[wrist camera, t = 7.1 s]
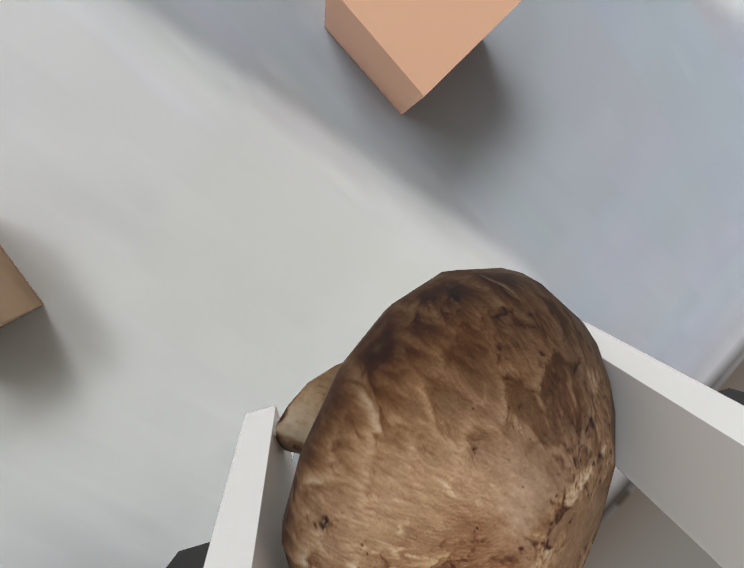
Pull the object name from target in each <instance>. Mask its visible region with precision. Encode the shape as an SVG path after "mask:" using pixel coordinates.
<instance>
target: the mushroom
mask: <svg viewBox="0 0 744 568" xmlns="http://www.w3.org/2000/svg"><path fill="white" fill-rule="evenodd" d="M275 429H276V439H277V441H278V443H279V444H280V445H281V447H282V448H283V449H284V450H286V451H290V452H294V453H298V454H300V455H299V459H298V463H297V467H296V471H295V475H294V478H293V482H292V486H291V490H290V494H289V497H288V501H287V505H286V509H285V513H284V517H283V520H282V545H283V549H284V552H285V555H286V559H287V562H288V565H289V568H583V566H584V563H585V561H586V558H587V556H588V554H589V551H590V549H591V546H592V544H593V541H594V539H595V536H596V534H597V532H598V529H599V526H600V522H601V518H602V514H603V510H604V506H605V503H606V499H607V495H608V491H609V487H610V483H611V480H612V476H613V472H614V468H615V407H614V402H613V396H612V390H611V384H610V380H609V377H608V374H607V371H606V368H605V365H604V362H603V359H602V356H601V353H600V351H599V348H598V345H597V343H596V341H595V340H594V338H593V337H592V335H591V334H590V332H589V330H588V329H587V327H586V326H585V324H584V323H583V322H582V321H581V320H580V319H579V318H578V317H577V316H576V315H574V314H573V313H572V312H571V311H570V310H569V309H568V308H567V307H566V306H565V305H564V304H562V303H561V302H560V301H559V300H558V299H557V298H556V297H555V296H554V295H553V294H552V293H550V292H549V291H548V290H547V289H546V288H545V287H544V286H543V285H542V284H540V283H539V282H537V281H535V280H533V279H532V278H530V277H528V276H526V275H525V274H523V273H520V272H516V271H512V270H508V269H503V268H491V269H471V270H455V271H446V272H441V273H440V274H438V275H437V276H435V277H434V278H432V279H430V280H429V281H427V282H426V283H424V284H423V285H421V286H420V287H418V288H416V289H415V290H413V291H412V292H410V293H409V294H407V295H406V296H404V297H402V298H401V299H399V300H398V301H396V302H395V303H393V304H392V305H391V306H390V307H389V308H387V309H386V310H385V311H384V312H383V314H382V315H381V316H380V317H379V319H378V320H377V321H376V322H375V323H374V325H373V326H372V327H371V328H370V330H369V331H368V332H367V333H366V335H365V336H364V337H363V338H362V340H361V341H360V342H359V343H358V345H357V346H356V347H355V348H354V350H353V351H352V352H351V353H350V355H349V356H348V357H347V358H346V360H345V361H344V362H343V363H341V364H338V365H336V366H334V367H332V368H331V369H329V370H328V371H326V372H325V373H323V374H321V375H320V376H318V377H317V378H315V379H314V380H312V381H310V382H309V383H307V385H306V386H305V387H304V388H303V389H302V390H301V391H300V393H299V394H298V395H297V396H296V397H295V398H294V399H293V401H292V402H291V403H290V404H289V405H288V407H287V408H286V410H285V412H284V413H283V415H282V417H281V418H280V420H279V421H278V423H277V425H276V426H275Z"/></svg>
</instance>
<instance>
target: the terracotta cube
mask: <svg viewBox="0 0 744 568" xmlns="http://www.w3.org/2000/svg"><path fill="white" fill-rule="evenodd" d="M521 1H522V0H326V8H325V28H326V29H327V30H328V31H329V33H330V34H331V35H332V36H333V37H334V38H335V39H336V41H337V42H338V43H339V44H340V45H341V46H342V47H343V49H344V50H345V51H346V52H347V53H348V54H349V55H350V57H351V58H352V59H353V60H354V61H355V62H356V63H357V65H358V66H359V67H360V68H361V69H362V70H363V71H364V73H365V74H366V75H367V76H368V77H369V78H370V79H371V80H372V82H373V83H374V84H375V85H376V86H377V87H378V88H379V90H380V91H381V92H382V93H383V94H384V95H385V96H386V98H387V99H388V100H389V101H390V102H391V103H392V104H393V106H394V107H395V108H396V109H397V110H398V111H399V112H400V114H401V115H402V114H403V113H404V112H406V111H407V110H408V109H409V108H411V107H412V106H413V105H414V104H416V103H417V102H418V101H419V100H421V99H422V98H423V97H424V96H425V95H426V94H428V93H429V92H430V91H431V90H432V89H433V88H434V87H435V86H436V85H437V84H438V83H439V82H440V81H441V80H442V79H443V78H444V77H445V76H446V75H447V74H448V73H449V72H450V71H451V70H452V69H453V68H454V67H455V66H456V65H457V64H458V63H459V62H460V61H461V60H462V59H463V58H464V57H465V56H466V55H467V54H468V53H469V52H470V51H471V50H472V49H473V48H474V47H475V46H476V45H477V44H478V43H479V42H480V41H481V40H482V39H483V38H484V37H485V36H486V35H487V34H488V33H489V32H490V31H491V30H492V29H493V28H494V27H495V26H496V25H497V24H498V23H499V22H500V21H501V20H502V19H503V18H504V17H505V16H506V15H508V14H509V13H510V12H511V11H512V10H513V9H514V8H515V7H516V6H517V5H518V4H519V3H520V2H521Z"/></svg>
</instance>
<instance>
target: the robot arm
mask: <svg viewBox="0 0 744 568" xmlns="http://www.w3.org/2000/svg"><path fill="white" fill-rule="evenodd" d="M582 322H583V323H584V324H585V326H586V327H587V329H588V330H589V332H590V334H591V335H592V337H593V338H594V340H595V341H596V343H597V345H598V348H599V351H600V353H601V356H602V359H603V362H604V365H605V368H606V371H607V374H608V377H609V380H610V384H611V390H612V396H613V402H614V407H615V466H616V467H617V468H618V469H619V470H620V471H621V472H622V473H623V474H624V475H625V476H626V477H627V478H628V479H629V480H630V481H632V482H633V483H634V484H635V485H636V486H637V487H638V488H639V489H640V490H641V491H642V492H643V493H644V494H645V495H646V496H647V497H648V498H649V499H651V500H652V501H653V502H654V503H655V504H656V505H657V506H658V507H659V508H660V509H661V510H662V511H663V512H664V513H665V514H666V515H667V516H668V517H670V518H671V519H672V520H673V521H674V522H675V523H676V524H677V525H678V526H679V527H680V528H681V529H682V530H683V531H684V532H685V533H686V534H687V535H688V536H689V537H691V538H692V539H693V540H694V541H695V542H696V543H697V544H698V545H699V546H700V547H701V548H702V549H703V550H704V551H705V552H706V553H707V554H708V555H709V556H710V557H712V558H713V559H714V560H715V561H716V562H717V563H718V564H719V565H720V566H721V567H722V568H744V392H741V391H737V390H734V389H729V388H728V389H725V390H721V391H718V392H717V391H715V390H713V389H711V388H709V387H707V386H705V385H704V384H702V383H700V382H698V381H696V380H694V379H692V378H690V377H688V376H687V375H685V374H683V373H681V372H679V371H677V370H675V369H673V368H671V367H670V366H668V365H666V364H664V363H662V362H660V361H658V360H656V359H654V358H653V357H651V356H649V355H647V354H645V353H643V352H641V351H639V350H637V349H636V348H634V347H632V346H630V345H628V344H626V343H624V342H622V341H620V340H618V339H617V338H615V337H613V336H611V335H609V334H607V333H605V332H603V331H601V330H600V329H598V328H596V327H594V326H592V325H590V324H588V323H586V322H584V321H583V320H582ZM279 420H280V417H279V414H278V411H277V408H276V405H275V406H272V407H268V408H265V409H261V410H257V411H254V412H250V413H247V414H245V417H244V420H243V424H242V428H241V431H240V435H239V439H238V442H237V446H236V450H235V453H234V457H233V461H232V464H231V468H230V472H229V475H228V479H227V483H226V486H225V490H224V494H223V497H222V501H221V505H220V508H219V512H218V516H217V519H216V523H215V527H214V530H213V534H212V538H211V541H210V542H209V543H205V544H202V545H199V546H195V547H192V548H188V549H185V550H182V551H179V552H178V553H177V554H176V556H175V557H174V558H173V560H172V561H171V562H170V563H169V565H168V566H167V567H166V568H289V565H288V562H287V559H286V555H285V552H284V549H283V545H282V520H283V517H284V513H285V509H286V505H287V501H288V497H289V494H290V490H291V486H292V482H293V478H294V475H295V471H296V468H295V465H294V462H293V459H292V456H291V452H290V451H286V450H284V449H283V448H282V447H281V445H280V444H279V443H278V441H277V439H276V429H275V426H276V425H277V423H278V421H279Z"/></svg>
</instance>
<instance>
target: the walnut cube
mask: <svg viewBox="0 0 744 568" xmlns="http://www.w3.org/2000/svg"><path fill="white" fill-rule="evenodd" d="M41 305H43V302H42V301H41V300H40V298H39V297H38V296H37V294H36V293H35V292H34V290H33V289H32V288H31V286H30V285H29V284H28V282H27V281H26V279H25V278H24V277H23V275H22V274H21V273H20V271H19V270H18V269H17V267H16V266H15V265H14V263H13V262H12V261H11V259H10V258H9V257H8V255H7V254H6V252H5V251H4V250H3V248H2V247H1V246H0V328H1V327H3V326H5V325H7V324H9V323H10V322H12V321H14V320H16V319H18V318H19V317H21V316H23V315H25V314H27V313H28V312H30V311H32V310H34V309H36V308H37V307H39V306H41Z"/></svg>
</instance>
